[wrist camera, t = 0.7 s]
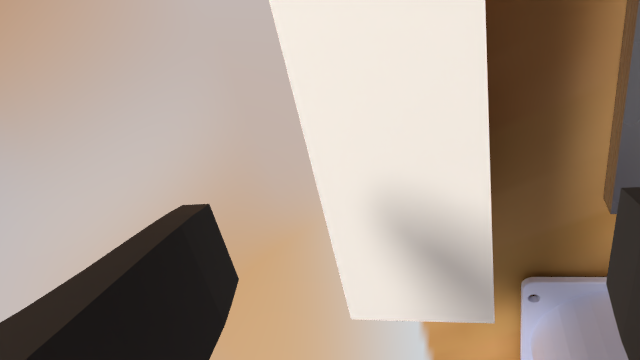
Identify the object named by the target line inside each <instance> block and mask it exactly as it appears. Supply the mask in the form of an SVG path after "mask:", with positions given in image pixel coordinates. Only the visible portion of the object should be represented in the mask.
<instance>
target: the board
mask: <svg viewBox="0 0 640 360" xmlns="http://www.w3.org/2000/svg"><path fill="white" fill-rule="evenodd" d="M269 2H270V6H271V10H272V14H273V18H274V21H275V26H276V29H277V33H278V37H279V41H280V45H281V49H282V53H283V57H284V61H285V64H286V68H287V72H288V76H289V80H290V84H291V88H292V91H293V95H294V99H295V103H296V107H297V111H298V115H299V119H300V123H301V127H302V130H303V134H304V138H305V142H306V146H307V150H308V154H309V157H310V161H311V165H312V169H313V173H314V177H315V181H316V185H317V189H318V193H319V196H320V200H321V204H322V208H323V212H324V216H325V219H326V224H327V227H328V231H329V235H330V239H331V243H332V247H333V251H334V255H335V259H336V262H337V266H338V270H339V274H340V278H341V281H342V285H343V289H344V293H345V297H346V301H347V305H348V308H349V313H350V317H351V319H360V320H396V321H398V320H399V321H432V322H467V323H495V317H494V283H493V249H492V215H491V181H490V147H489V113H488V79H487V44H486V10H485V0H269Z"/></svg>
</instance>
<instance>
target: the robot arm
mask: <svg viewBox="0 0 640 360" xmlns="http://www.w3.org/2000/svg"><path fill="white" fill-rule="evenodd" d="M238 280H239V278H238V276H237V274H236V271H235V268H234V266H233V263H232V261H231V258H230V256H229V254H228V251H227V248H226V245H225V243H224V240H223V238H222V235H221V233H220V230H219V228H218V225H217V223H216V220H215V217H214V215H213V212H212V210H211V207H210V205H209V204H199V205H182V206H180V207H178V208H177V209H175V210H173V211H171V212H170V213H168V214H166V215H165V216H163V217H162V218H160V219H159V220H157V221H155V222H154V223H153V224H151V225H149V226H148V227H146V228H145V229H143V230H142V231H141V232H139V233H137V234H136V235H134V236H133V237H131V238H130V239H129V240H127V241H126V242H124V243H123V244H121V245H120V246H119V247H117V248H115V249H114V250H112V251H111V252H110V253H108V254H107V255H105V256H104V257H102V258H101V259H100V260H98V261H97V262H95V263H93V264H92V265H91V266H89V267H88V268H86V269H85V270H83V271H82V272H80V273H79V274H77V275H75V276H74V277H72V278H71V279H69V280H68V281H66V282H65V283H63V284H62V285H60V286H58V287H57V288H55V289H54V290H52V291H51V292H49V293H48V294H46V295H45V296H43V297H41V298H40V299H38V300H37V301H35V302H34V303H32V304H30V305H29V306H27V307H26V308H24V309H22V310H21V311H19V312H18V313H16V314H14V315H13V316H11V317H9V318H7V319H6V320H4V321H2V322H1V323H0V360H209V359H210V357H211V354H212V352H213V350H214V348H215V346H216V343H217V341H218V339H219V337H220V335H221V332H222V330H223V328H224V325H225V323H226V320H227V317H228V314H229V311H230V308H231V305H232V301H233V298H234V294H235V290H236V287H237V284H238ZM533 294H535V295H536V296H530V295H533ZM520 360H640V187H629V188H621V191H620V197H619V204H618V210H617V217H616V223H615V230H614V236H613V243H612V249H611V255H610V262H609V268H608V275H607V277H529V278H527V279H525V280H524V281H523V282H522V284H521V338H520Z"/></svg>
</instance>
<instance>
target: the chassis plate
mask: <svg viewBox="0 0 640 360" xmlns="http://www.w3.org/2000/svg"><path fill="white" fill-rule="evenodd" d="M629 187H640V0H627V7H626V16H625V24H624V32H623V41H622V49H621V57H620V65H619V74H618V82H617V90H616V99H615V107H614V115H613V123H612V132H611V140H610V148H609V157H608V165H607V173H606V181H605V190H604V198H603V199H604V201H605V203H606V205H607V207H608V209H609V212H610V214H617V210H618V204H619V197H620V191H621V188H629Z"/></svg>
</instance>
